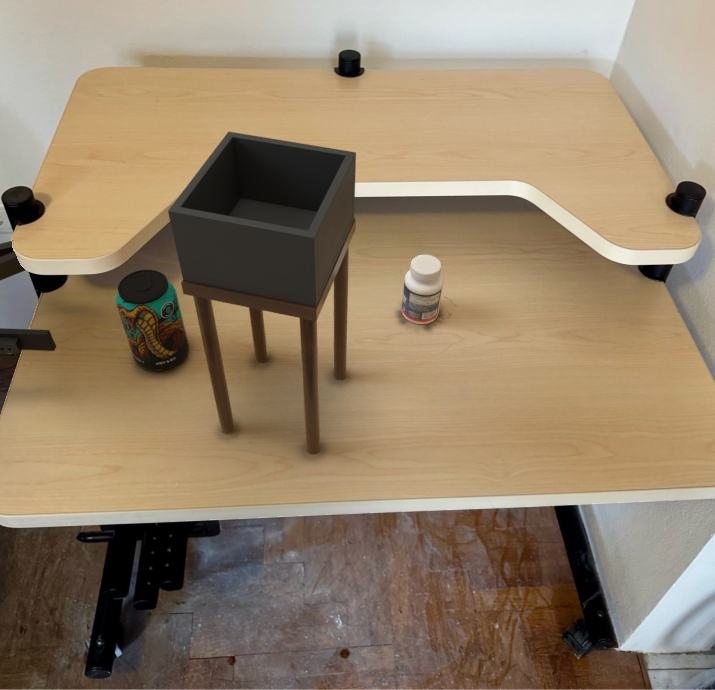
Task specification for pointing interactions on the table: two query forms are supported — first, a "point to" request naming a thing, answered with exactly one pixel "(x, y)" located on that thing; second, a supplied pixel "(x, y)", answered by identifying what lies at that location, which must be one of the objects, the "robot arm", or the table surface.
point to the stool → (256, 308)
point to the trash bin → (266, 217)
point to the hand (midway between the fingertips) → (71, 299)
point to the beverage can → (152, 319)
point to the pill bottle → (422, 290)
